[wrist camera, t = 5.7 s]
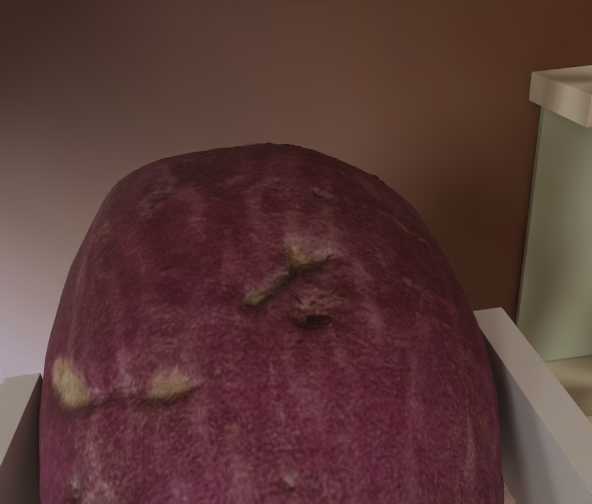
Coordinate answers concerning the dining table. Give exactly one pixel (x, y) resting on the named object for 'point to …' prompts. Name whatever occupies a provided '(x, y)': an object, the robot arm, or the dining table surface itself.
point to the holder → (561, 233)
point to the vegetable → (264, 345)
